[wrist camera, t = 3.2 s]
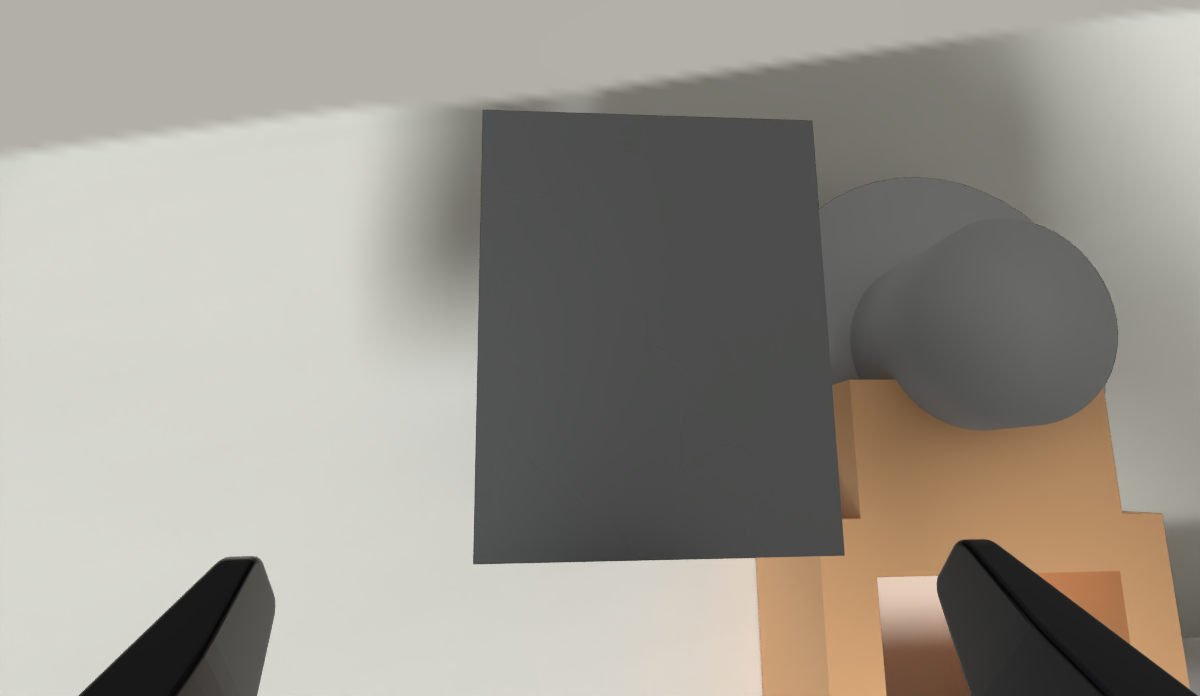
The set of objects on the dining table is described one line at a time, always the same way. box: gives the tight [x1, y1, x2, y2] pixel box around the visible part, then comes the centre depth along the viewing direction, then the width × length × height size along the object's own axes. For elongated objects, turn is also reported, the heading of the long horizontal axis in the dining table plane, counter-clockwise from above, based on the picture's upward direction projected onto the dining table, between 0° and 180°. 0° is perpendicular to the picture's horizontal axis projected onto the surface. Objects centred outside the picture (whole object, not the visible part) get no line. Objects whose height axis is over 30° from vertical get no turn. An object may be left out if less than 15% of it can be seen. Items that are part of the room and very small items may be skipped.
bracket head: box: [756, 177, 1200, 696], centre depth 17 cm, size 17×16×6 cm
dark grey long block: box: [473, 110, 845, 564], centre depth 13 cm, size 4×4×12 cm
